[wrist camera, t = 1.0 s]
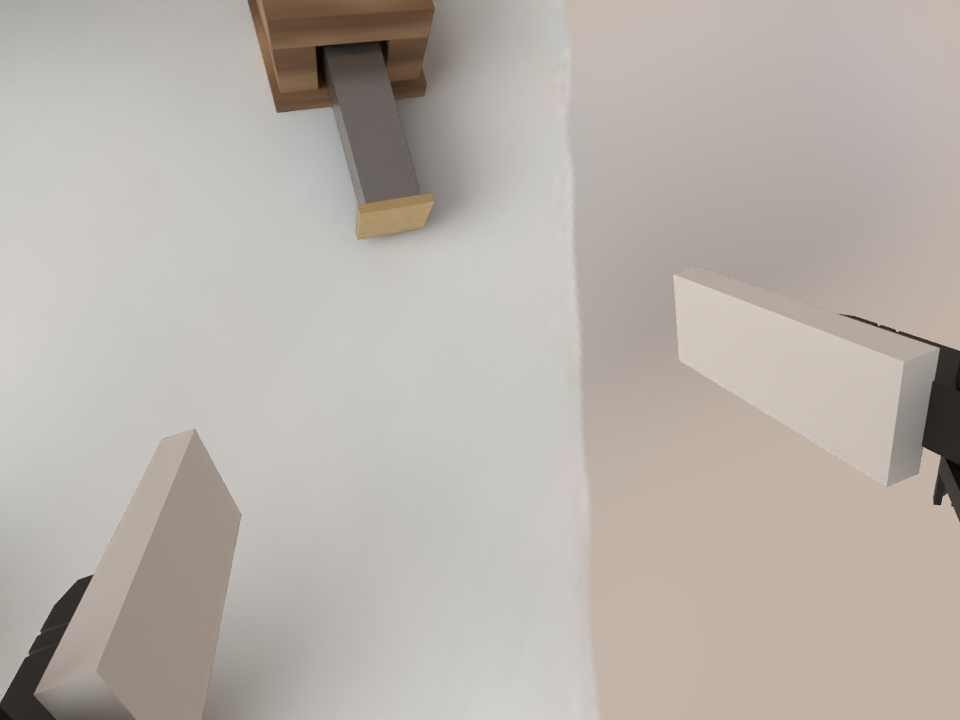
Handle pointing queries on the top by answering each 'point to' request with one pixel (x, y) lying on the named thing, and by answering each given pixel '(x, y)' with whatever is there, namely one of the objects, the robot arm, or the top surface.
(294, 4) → the bearing block
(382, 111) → the shaft
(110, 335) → the top surface
